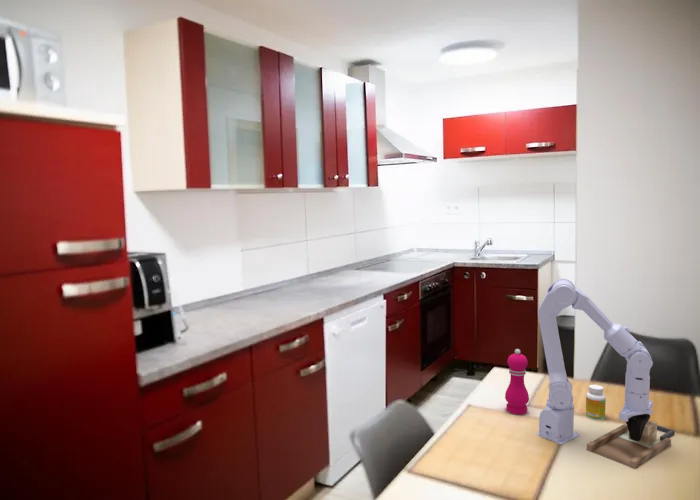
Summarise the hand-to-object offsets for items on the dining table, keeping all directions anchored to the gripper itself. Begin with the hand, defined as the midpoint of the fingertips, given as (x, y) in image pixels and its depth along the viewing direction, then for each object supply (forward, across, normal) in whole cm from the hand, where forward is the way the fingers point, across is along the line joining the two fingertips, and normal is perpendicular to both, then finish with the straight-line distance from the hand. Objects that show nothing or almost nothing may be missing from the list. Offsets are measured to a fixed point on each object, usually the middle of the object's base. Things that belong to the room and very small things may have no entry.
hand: (635, 439), depth 143 cm
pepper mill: (+2, -5, +34) cm, 34 cm away
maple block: (+1, +4, 0) cm, 4 cm away
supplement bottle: (+2, +9, +16) cm, 18 cm away
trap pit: (+2, +11, 0) cm, 11 cm away
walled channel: (+2, -3, 0) cm, 4 cm away
